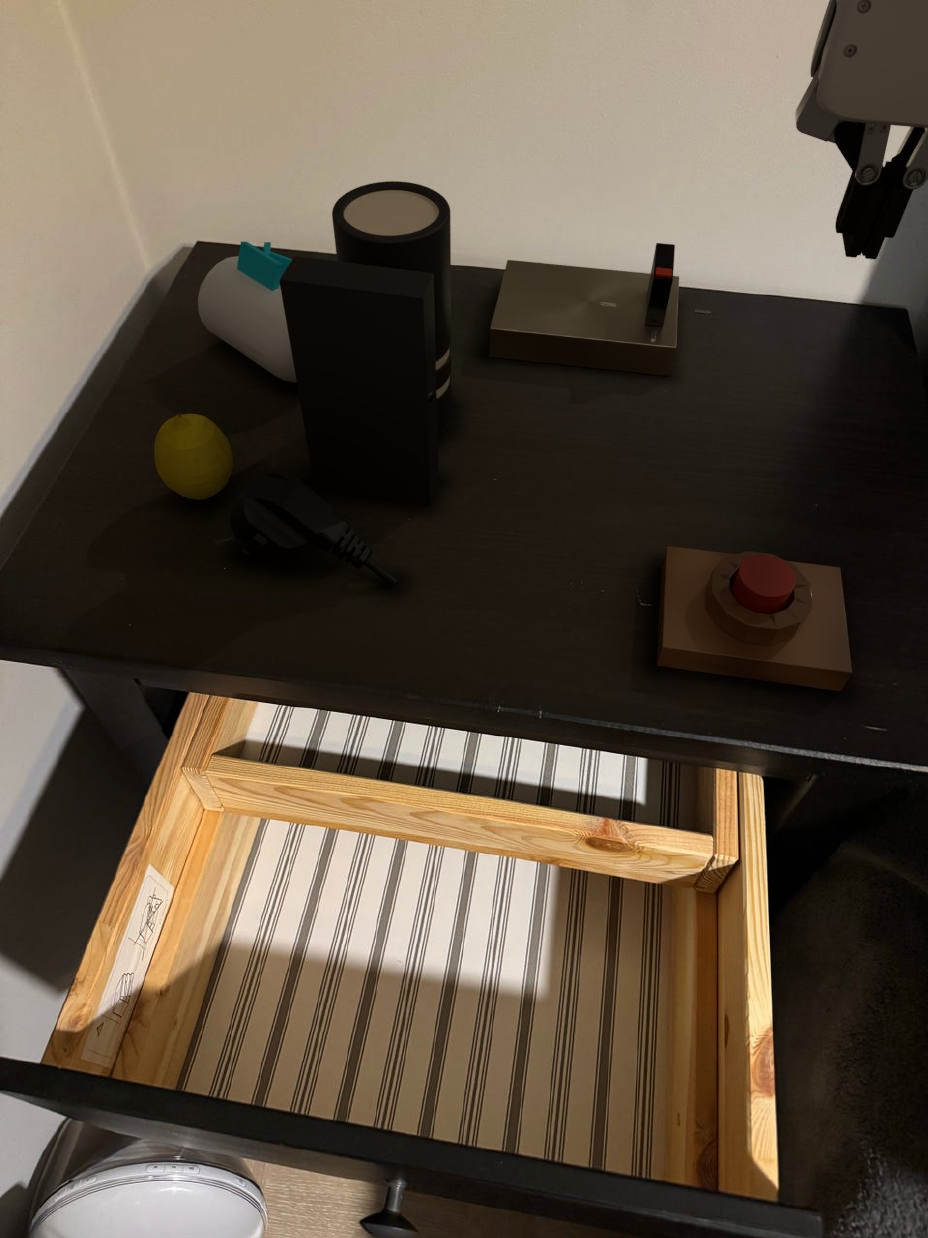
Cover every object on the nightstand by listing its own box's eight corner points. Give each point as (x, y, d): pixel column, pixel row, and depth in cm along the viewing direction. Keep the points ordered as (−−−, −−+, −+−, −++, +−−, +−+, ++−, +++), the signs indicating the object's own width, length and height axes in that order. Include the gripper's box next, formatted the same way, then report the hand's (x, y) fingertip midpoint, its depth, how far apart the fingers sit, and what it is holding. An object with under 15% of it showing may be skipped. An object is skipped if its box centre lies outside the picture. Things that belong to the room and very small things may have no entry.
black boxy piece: (647, 289, 82) (656, 239, 78) (665, 290, 82) (675, 241, 78) (644, 324, 79) (654, 274, 75) (663, 326, 78) (673, 276, 75)
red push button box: (830, 587, 65) (849, 549, 61) (841, 691, 59) (862, 656, 56) (661, 565, 66) (671, 527, 63) (656, 666, 60) (667, 630, 57)
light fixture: (470, 393, 78) (473, 188, 63) (433, 506, 69) (427, 298, 55) (360, 378, 79) (339, 173, 65) (311, 486, 70) (275, 278, 56)
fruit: (245, 514, 69) (224, 432, 62) (171, 527, 68) (141, 446, 61) (237, 465, 72) (216, 383, 66) (166, 477, 71) (138, 395, 65)
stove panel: (703, 307, 85) (711, 277, 83) (702, 380, 79) (710, 349, 76) (506, 287, 87) (507, 257, 85) (489, 357, 81) (490, 326, 78)
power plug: (383, 607, 62) (239, 497, 59) (336, 641, 68) (202, 542, 65) (416, 551, 65) (282, 442, 62) (368, 587, 71) (242, 490, 68)
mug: (300, 289, 69) (205, 231, 74) (280, 399, 74) (193, 338, 79) (404, 287, 78) (313, 235, 83) (380, 385, 83) (295, 331, 88)
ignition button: (786, 575, 60) (794, 557, 59) (789, 617, 58) (797, 600, 57) (732, 568, 61) (738, 550, 59) (732, 609, 59) (739, 592, 57)
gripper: (1183, -193, 38) (983, 223, 53) (821, -209, 40) (723, 200, 54) (1247, -144, 34) (1008, 296, 48) (835, -164, 35) (724, 269, 50)
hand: (858, 244), depth 51 cm, fingers closed
